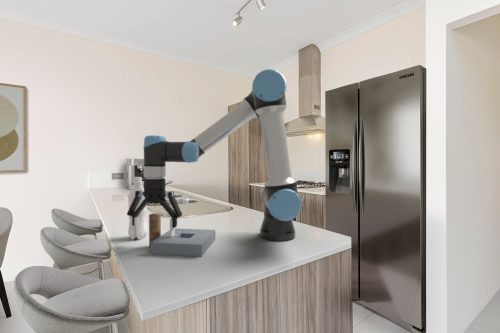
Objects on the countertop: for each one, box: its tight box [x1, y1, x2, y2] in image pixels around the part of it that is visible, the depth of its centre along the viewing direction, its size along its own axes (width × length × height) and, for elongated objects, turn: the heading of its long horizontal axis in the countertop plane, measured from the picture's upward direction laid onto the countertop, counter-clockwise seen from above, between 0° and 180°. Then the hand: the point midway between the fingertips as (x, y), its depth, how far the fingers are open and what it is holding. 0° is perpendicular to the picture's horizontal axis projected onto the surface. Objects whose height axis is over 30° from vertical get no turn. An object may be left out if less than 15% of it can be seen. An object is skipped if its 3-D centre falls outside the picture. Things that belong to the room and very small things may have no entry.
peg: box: [148, 212, 162, 249], centre depth 93 cm, size 4×4×12 cm
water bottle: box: [127, 176, 148, 241], centre depth 103 cm, size 7×7×25 cm
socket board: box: [150, 227, 216, 258], centre depth 94 cm, size 18×18×4 cm
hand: (154, 235), depth 93 cm, fingers open, 13 cm apart
